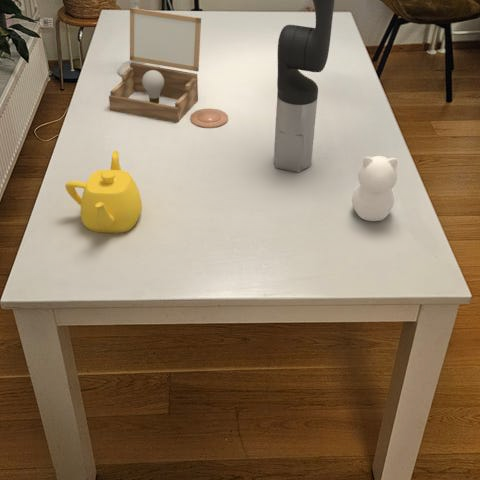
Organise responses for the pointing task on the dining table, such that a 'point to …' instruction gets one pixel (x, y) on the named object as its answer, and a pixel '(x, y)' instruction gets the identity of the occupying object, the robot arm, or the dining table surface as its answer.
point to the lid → (165, 39)
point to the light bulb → (153, 85)
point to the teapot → (108, 199)
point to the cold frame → (174, 87)
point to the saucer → (209, 118)
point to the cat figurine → (375, 188)
